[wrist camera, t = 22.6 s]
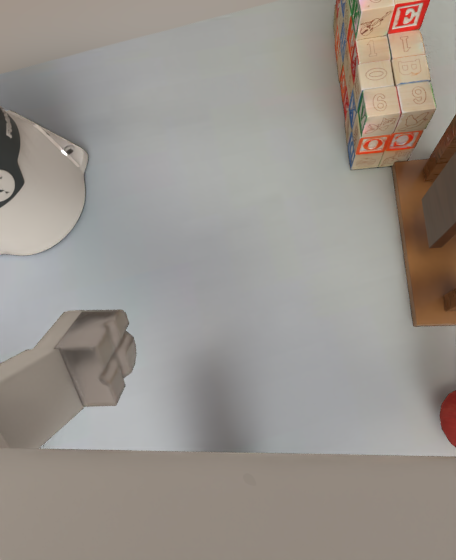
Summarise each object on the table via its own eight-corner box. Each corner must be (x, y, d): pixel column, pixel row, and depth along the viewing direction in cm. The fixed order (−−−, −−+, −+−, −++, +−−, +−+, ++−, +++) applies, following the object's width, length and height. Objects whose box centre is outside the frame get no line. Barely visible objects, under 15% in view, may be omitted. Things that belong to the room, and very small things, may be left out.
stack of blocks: (407, 166, 43) (450, 84, 31) (349, 171, 44) (370, 94, 32) (382, 16, 49) (411, -100, 37) (331, 24, 50) (344, -87, 38)
